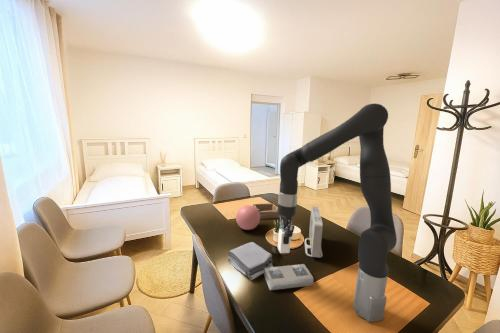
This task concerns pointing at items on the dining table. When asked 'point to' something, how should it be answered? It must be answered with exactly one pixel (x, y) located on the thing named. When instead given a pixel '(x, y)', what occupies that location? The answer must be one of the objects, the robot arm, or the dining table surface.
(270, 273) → the patch panel
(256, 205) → the coaster tray
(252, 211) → the pink rubber ball
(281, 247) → the plug
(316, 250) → the network device
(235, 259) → the towel
